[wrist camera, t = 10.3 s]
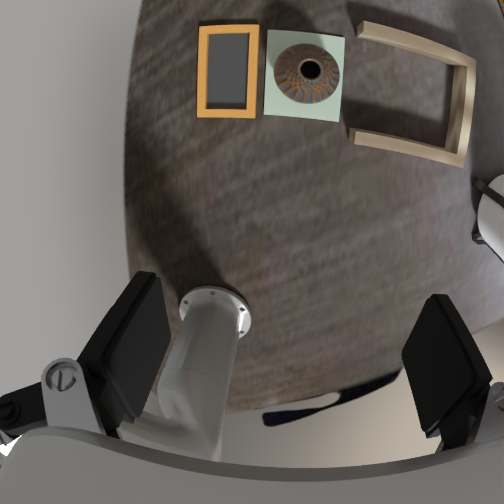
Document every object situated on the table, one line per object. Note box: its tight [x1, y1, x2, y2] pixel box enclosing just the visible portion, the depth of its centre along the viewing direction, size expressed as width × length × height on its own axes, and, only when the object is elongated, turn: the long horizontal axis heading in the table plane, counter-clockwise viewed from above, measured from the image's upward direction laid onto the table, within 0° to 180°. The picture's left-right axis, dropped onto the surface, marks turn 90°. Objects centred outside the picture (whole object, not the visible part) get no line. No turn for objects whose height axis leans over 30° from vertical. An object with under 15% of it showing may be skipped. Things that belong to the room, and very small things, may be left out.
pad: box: [264, 30, 345, 122], centre depth 29 cm, size 11×9×1 cm
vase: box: [274, 43, 340, 104], centre depth 25 cm, size 7×7×9 cm
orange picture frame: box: [197, 25, 260, 118], centre depth 29 cm, size 12×7×1 cm, turn 178°
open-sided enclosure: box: [348, 21, 476, 168], centre depth 26 cm, size 15×16×4 cm
